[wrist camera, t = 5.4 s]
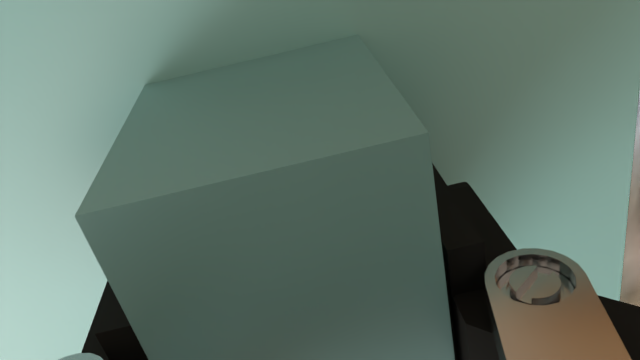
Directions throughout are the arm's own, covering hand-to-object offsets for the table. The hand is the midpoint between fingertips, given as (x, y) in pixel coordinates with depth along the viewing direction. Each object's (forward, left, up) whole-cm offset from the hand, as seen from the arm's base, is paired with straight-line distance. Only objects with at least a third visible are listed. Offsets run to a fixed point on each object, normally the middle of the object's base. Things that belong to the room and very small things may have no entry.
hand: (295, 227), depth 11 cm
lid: (0, 0, -3) cm, 3 cm away
